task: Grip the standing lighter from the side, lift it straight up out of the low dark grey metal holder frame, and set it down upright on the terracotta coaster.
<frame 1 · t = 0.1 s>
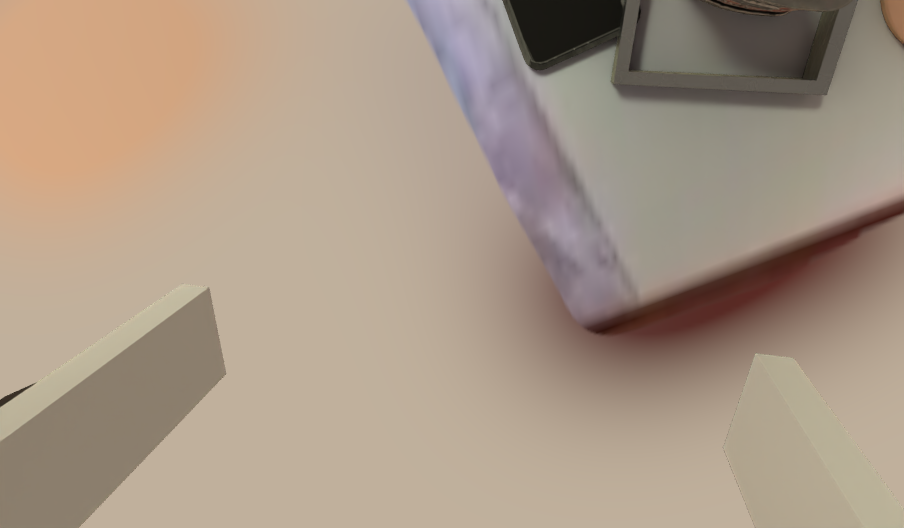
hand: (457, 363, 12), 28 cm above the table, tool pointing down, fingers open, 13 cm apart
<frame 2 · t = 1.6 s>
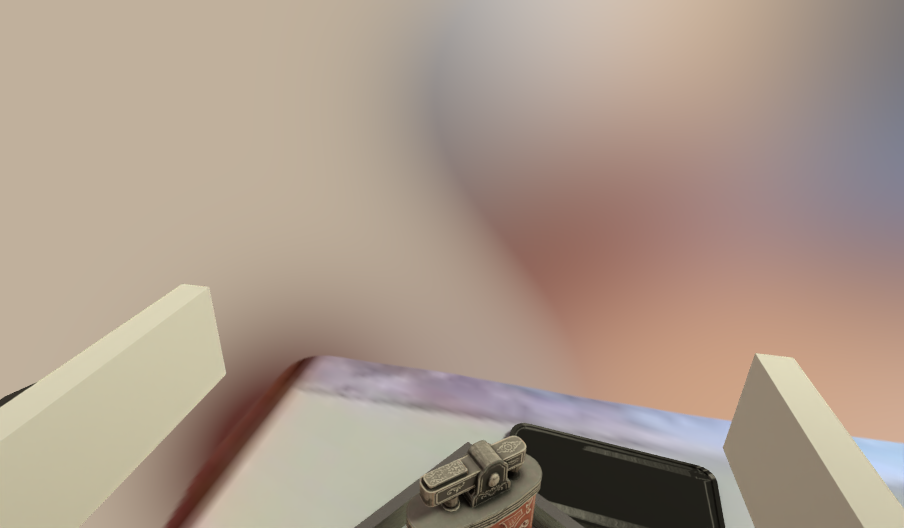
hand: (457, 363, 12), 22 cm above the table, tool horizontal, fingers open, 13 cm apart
phone: (604, 494, 36), on the table
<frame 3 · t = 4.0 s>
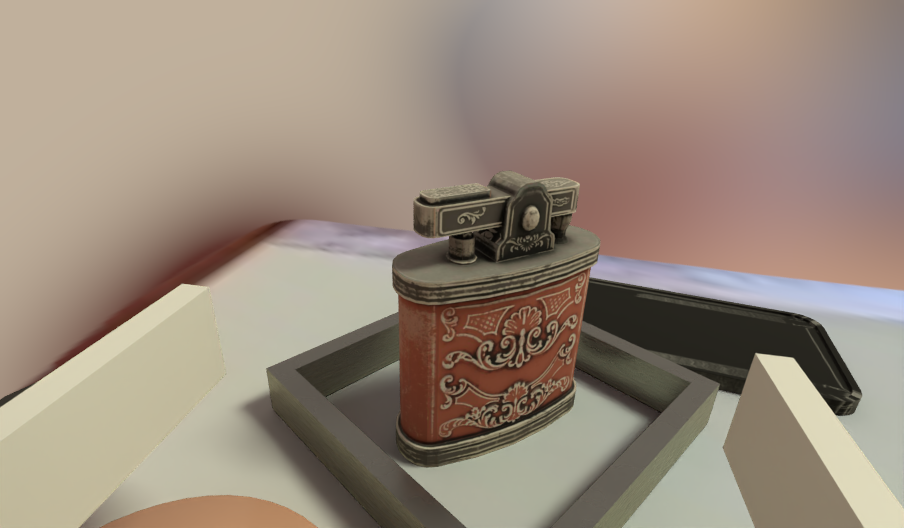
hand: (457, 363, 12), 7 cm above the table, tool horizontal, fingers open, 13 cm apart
phone: (667, 344, 27), on the table
holder frame: (489, 415, 21), on the table
lighter: (489, 420, 21), resting in holder frame
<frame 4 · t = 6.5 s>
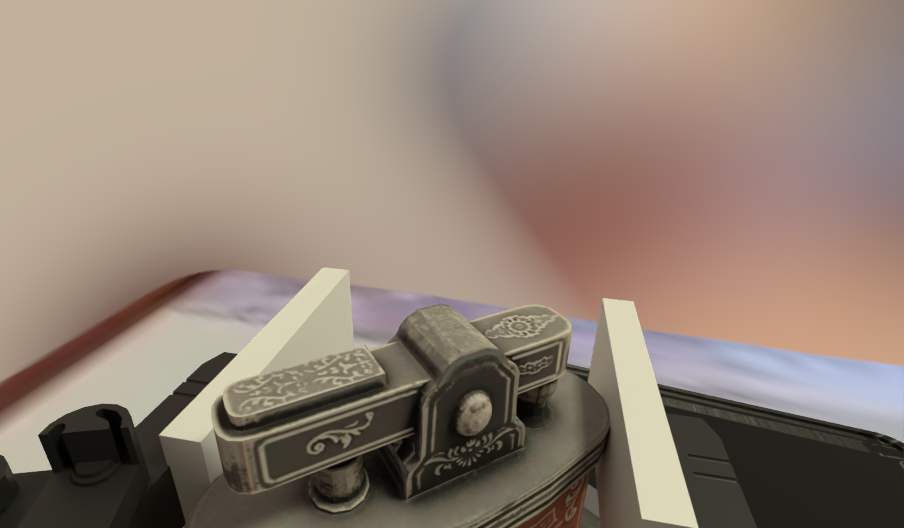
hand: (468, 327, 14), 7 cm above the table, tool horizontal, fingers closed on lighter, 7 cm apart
phone: (700, 483, 19), on the table
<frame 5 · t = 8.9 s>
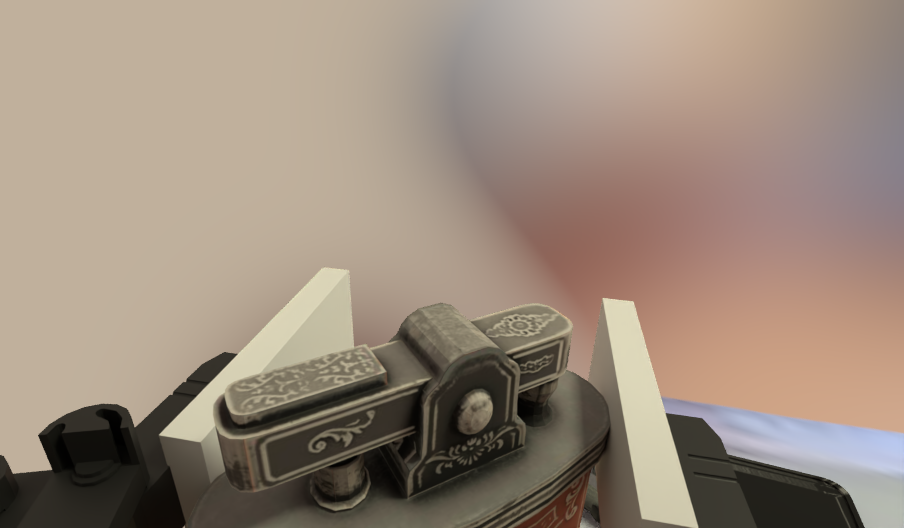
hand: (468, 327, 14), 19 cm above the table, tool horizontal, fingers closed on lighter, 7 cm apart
phone: (716, 511, 31), on the table
when the fingers open (9 cm above the table, at t = 11.6 s): lighter drops 1 cm, resting on coaster.
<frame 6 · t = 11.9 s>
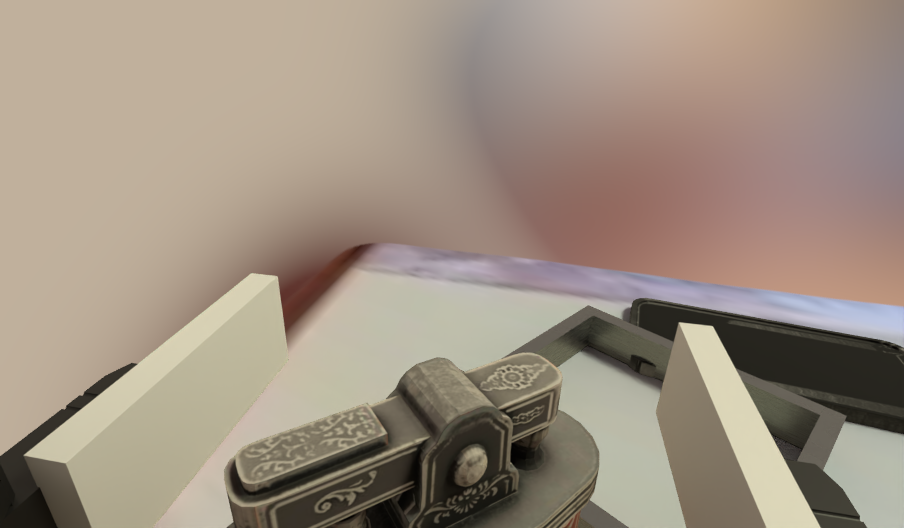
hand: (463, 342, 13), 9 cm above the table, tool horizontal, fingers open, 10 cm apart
phone: (764, 370, 29), on the table
holder frame: (629, 445, 22), on the table
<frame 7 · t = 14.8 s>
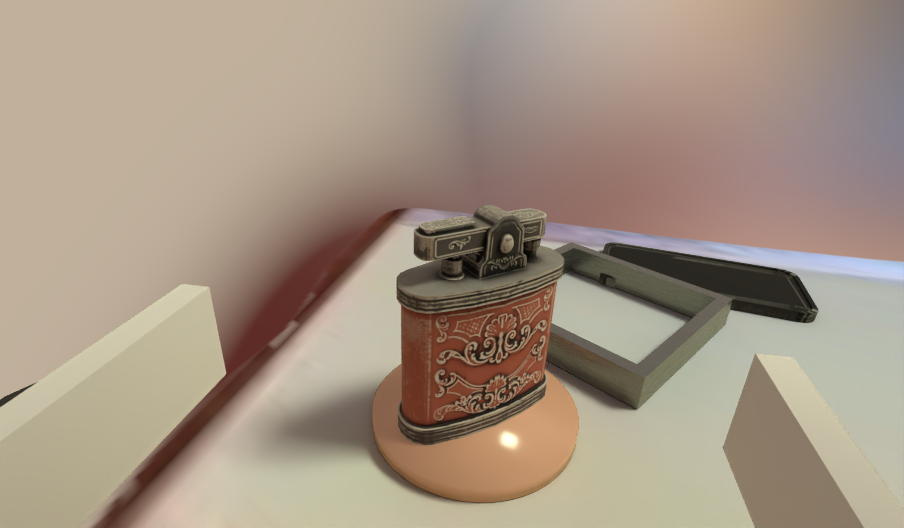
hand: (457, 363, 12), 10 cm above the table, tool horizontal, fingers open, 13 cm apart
coaster: (474, 417, 25), on the table
phone: (695, 287, 41), on the table
holder frame: (594, 319, 34), on the table
lighter: (475, 408, 25), point 1 cm above the table, touching coaster
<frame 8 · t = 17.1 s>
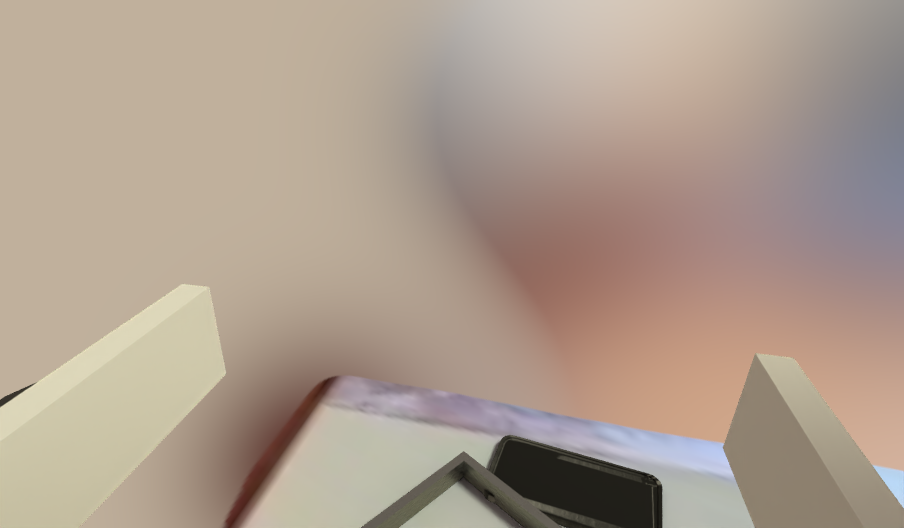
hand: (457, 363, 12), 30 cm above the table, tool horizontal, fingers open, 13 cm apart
phone: (571, 494, 46), on the table
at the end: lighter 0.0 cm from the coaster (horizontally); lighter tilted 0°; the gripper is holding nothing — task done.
